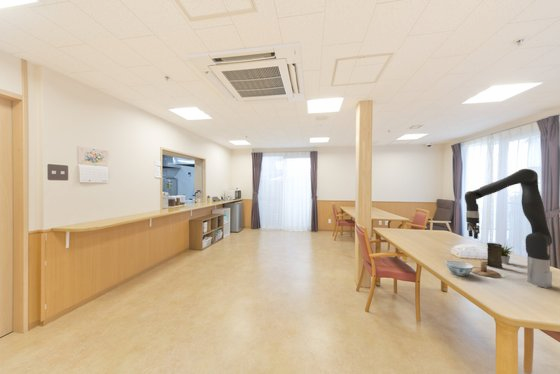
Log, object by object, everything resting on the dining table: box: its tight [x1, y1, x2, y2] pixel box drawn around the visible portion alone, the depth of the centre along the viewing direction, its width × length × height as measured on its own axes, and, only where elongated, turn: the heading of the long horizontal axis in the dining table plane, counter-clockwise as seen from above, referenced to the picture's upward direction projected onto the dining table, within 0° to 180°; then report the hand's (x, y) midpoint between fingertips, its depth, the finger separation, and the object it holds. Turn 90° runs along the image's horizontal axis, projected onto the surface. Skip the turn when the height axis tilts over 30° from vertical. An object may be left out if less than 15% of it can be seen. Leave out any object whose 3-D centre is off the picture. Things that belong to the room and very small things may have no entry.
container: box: [486, 242, 503, 270], centre depth 167 cm, size 9×9×18 cm
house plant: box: [501, 243, 513, 265], centre depth 177 cm, size 14×14×16 cm
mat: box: [469, 272, 506, 280], centre depth 155 cm, size 17×17×1 cm
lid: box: [471, 260, 501, 279], centre depth 155 cm, size 17×17×8 cm
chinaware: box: [445, 259, 474, 277], centre depth 153 cm, size 15×15×8 cm
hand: (473, 237), depth 166 cm, fingers open, 8 cm apart
